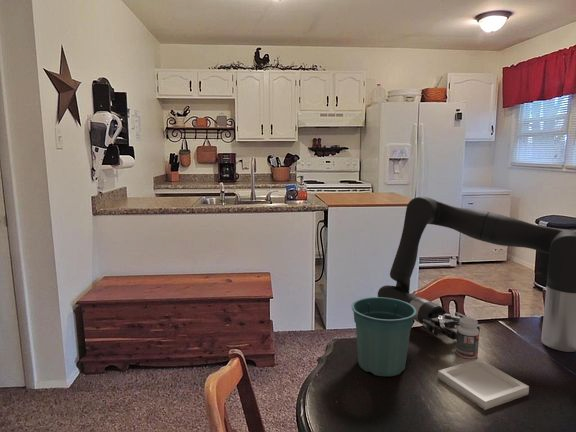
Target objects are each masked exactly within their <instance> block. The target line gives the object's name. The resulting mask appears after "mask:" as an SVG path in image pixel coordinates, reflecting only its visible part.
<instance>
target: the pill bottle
mask: <svg viewBox="0 0 576 432" xmlns="http://www.w3.org/2000/svg"><path fill="white" fill-rule="evenodd" d="M459 324H460V326H458V325H457V326H458V328H457V329H456V333H457V338H456V340H455V353H456V354H457V356H459V357H461V358H464V359H468V360H469V359H470V360H471V359H476V358H477V357H478V355H479V344H480V342H479V341H480V333H479V330H478V329H477V327H478V326H479V322H478V320H477V319H476V318H472V317H470V318H469V316H467V317H463V318H460V321H459Z"/></svg>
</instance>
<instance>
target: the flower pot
mask: <svg viewBox="0 0 576 432" xmlns="http://www.w3.org/2000/svg"><path fill="white" fill-rule="evenodd" d="M351 310H352V311H353V319H354V320H353V321H354V323H355V332H356V334H355V335H356V346H357V348H356V349H357V363H358V366H359V367H360V368H361V370H363V371H365V372H366V373H368V372H370V373H372V375H374V376H378V377H394V376H398V375H400V374H401V373H402V372H403V371H405V369H406V364H407V363H406V362H407V356H408V348H409V342H410V336H411V330H412V327H413V324H414V316H415V315H416V309H415V307H414V306H412V305H411V304H409V303H407V302H404V301H401V300H398V299H393V298H384V297H378V296H375V297H374V296H373V297H372V296H371V297H363V298H360V299H357V300H355V301H353V302H352V304H351Z"/></svg>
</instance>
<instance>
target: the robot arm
mask: <svg viewBox="0 0 576 432" xmlns="http://www.w3.org/2000/svg"><path fill="white" fill-rule="evenodd" d="M427 225H431V226H432V225H435V226H439V227H443V228H444V227H445V228H447V229H451V230H454V231H456V232H458V233H460V234H463V235H465V236H467V237H469V238H472V239H475V240H478V241H481V242H485V243H488V244H492V245H497V246H503V247H513V248H525V249H530V250H535V251H538V252H541V253H544V254H547V255H548V262H547V263H548V265H547V272H546V273H547V275H546V290H545V299H544V310H543V317H542V318H543V319H542V328H541V329H542V330H541V339H540V340H541V341H540V342H541V343H542V344H543V345H544V346H547V348H551V349H553V350H557V351H559V352H560V351H561V352H566V353H567V352H568V353H570V352H571V353H572V352H576V231H575V230H571V229H570V230H569V229H563V228H562V229H560V228H553V227H547V226H541V225H537V224H534V223H530V222H527V221H524V220H521V219H516V218H514V217H509V216H507V215H504V214H503V215H502V214H499V213H494V212H490V211H486V210H481V209H476V208H475V209H474V208H473V209H472V208H466V207H459V206H454V205H451V204H448V203H445V202H442V201H439V200H437V199H433V198H431V197H428V196H416V197H414V198H412V199H411V200H410V201H409V202H408V204H407V205H406V210H405V217H404V222H403V227H402V233H401V237H400V239H399V240H400V241H399V244H398V248H397V250H396V253H395V257H394V259H393V262H392V265H391V268H390V271H389V277H390V278H391V279H392V280H393V281H395V282H396V285H387V284H385V285H383V286H381V287H379V289H378V291H377V297H384V298H393V299H398V300H401V301H404V302H407V303H409V304H411V305H412V306H414V307H415V309H416V315H415V316H414V319H413V321H415V322H417V323H419V324H420V325H422V329H423V330H425V331H427V332H428V333H430V334H432V336H434V337H435V336H437V337H438V335H441V336H445V337H447V338H449V339H451V340H452V341H456V338H457V331H454V330H455V329H456V330H457V328H458V326H460V324H459V321H460V318H463V317H469V316H467V315H464V314H462V313H460V312H458V311H457V312H454V315H452V314H450V313H447V311H446V310H445V309H444V307H443V306H441V305H439V304H437V303H434V302H432V301H430V300H428V299H425V298H423V297H420V296H417V295H416V294H413V293H410V286H411V277H412V275H413V272H414V269H415V266H416V263H417V258H418V252H419V246H420V242H421V238H422V235H423V233H424V230H425V229H426V227H427ZM469 318H471V317H469ZM456 323H457V324H456ZM453 329H454V330H453ZM477 329H478V330H479V334H480V332H481V331H480V329H481V328H480V326H479V325H478V327H477Z"/></svg>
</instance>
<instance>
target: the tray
mask: <svg viewBox="0 0 576 432" xmlns="http://www.w3.org/2000/svg"><path fill="white" fill-rule="evenodd" d="M437 371H438V372H437V378H438V379H439V380H440V381H441V382H443V383H444V384H446V385H448V386H449V387H450V388H452V389H453V390H455V391H457V392H458V394H461V395H462V396H464V397H465V398H466V399H468V401H469V400H470V401H471V402H472V403H473V404H476V406H478V407H480V408H481V409H483V410H484V411H487V410H488V409H491V408H492V409H493V408H494V407H497V406H500V405H502V404H505V403H509V402H511V401H514V400H517V399H520V398H523V397H526V396H528V395H529V391H530V386H529V385H528V384H526V383H524V382H521V381H520V380H518V379H516V378H514V377H512V376H511V375H509V374H508V373H506V372H504V371H502V370H501V369H499V368H497V367H495V366H493V365H492V364H489V363H487V362H486V361H484V360H482V359H481V358H478V359H474V360H470V361H468V362H467V361H466V362H464V363H460V364H457V365H453V366H450V367H447V368H443V369H439V370H437Z"/></svg>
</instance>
